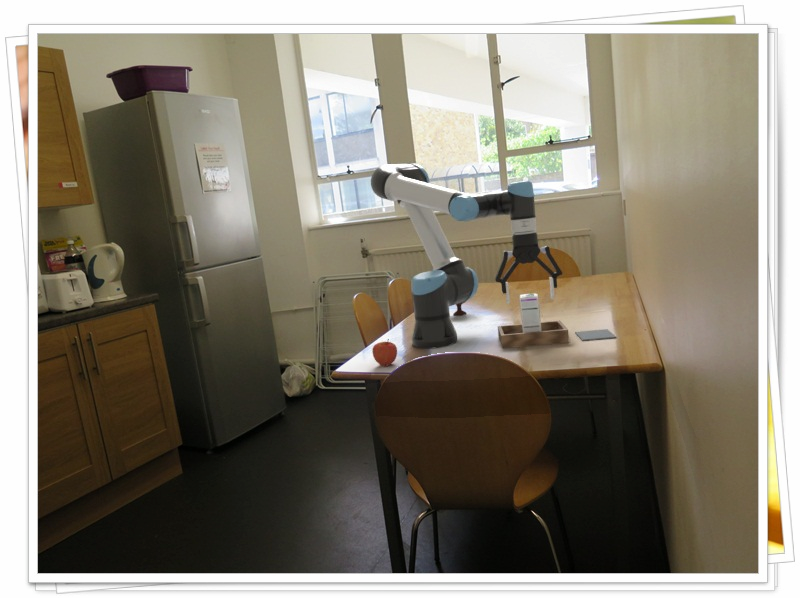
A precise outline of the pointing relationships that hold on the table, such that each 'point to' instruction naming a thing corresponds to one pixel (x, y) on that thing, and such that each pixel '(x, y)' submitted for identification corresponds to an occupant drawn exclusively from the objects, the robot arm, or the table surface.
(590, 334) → the mat
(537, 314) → the syrup box
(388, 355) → the apple
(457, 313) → the ice cream bowl
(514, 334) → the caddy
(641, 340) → the table surface
